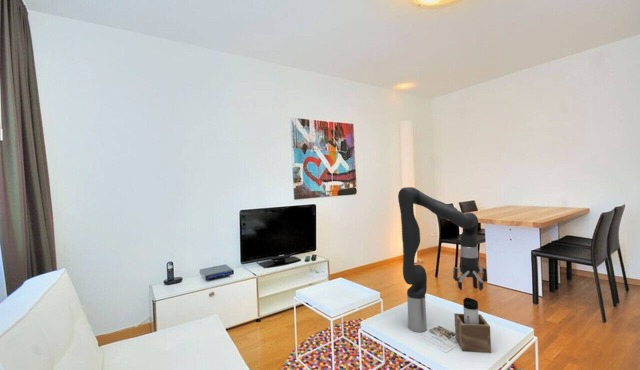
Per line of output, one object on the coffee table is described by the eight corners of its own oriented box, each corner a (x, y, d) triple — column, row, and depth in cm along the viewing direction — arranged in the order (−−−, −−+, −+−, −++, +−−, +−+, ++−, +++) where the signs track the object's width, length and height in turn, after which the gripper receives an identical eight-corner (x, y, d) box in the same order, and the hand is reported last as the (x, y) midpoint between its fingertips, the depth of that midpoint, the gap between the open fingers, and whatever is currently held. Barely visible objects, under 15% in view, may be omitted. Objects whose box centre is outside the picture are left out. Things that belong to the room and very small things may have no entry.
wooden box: (455, 337, 145) (454, 313, 146) (481, 339, 143) (480, 314, 143) (462, 351, 134) (461, 324, 134) (491, 352, 131) (490, 326, 131)
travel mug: (474, 338, 142) (472, 297, 142) (482, 345, 136) (480, 302, 136) (462, 339, 142) (460, 297, 142) (469, 346, 136) (467, 303, 136)
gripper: (482, 253, 141) (483, 287, 141) (451, 253, 143) (452, 286, 144) (488, 257, 133) (489, 293, 134) (455, 257, 136) (456, 292, 136)
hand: (470, 289), depth 139 cm, fingers open, 8 cm apart
